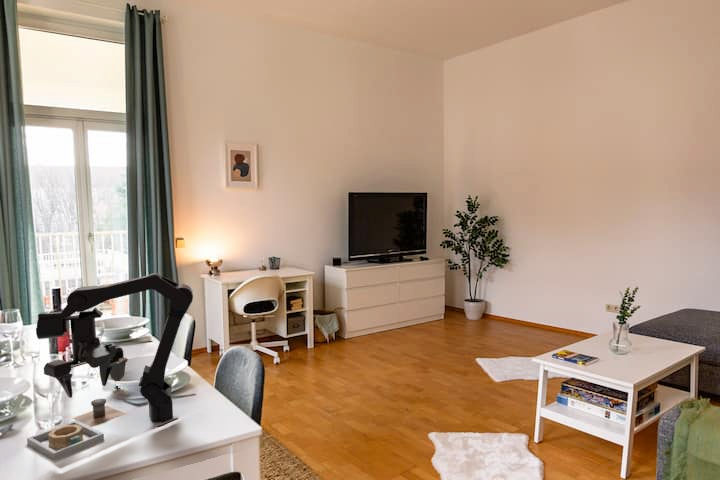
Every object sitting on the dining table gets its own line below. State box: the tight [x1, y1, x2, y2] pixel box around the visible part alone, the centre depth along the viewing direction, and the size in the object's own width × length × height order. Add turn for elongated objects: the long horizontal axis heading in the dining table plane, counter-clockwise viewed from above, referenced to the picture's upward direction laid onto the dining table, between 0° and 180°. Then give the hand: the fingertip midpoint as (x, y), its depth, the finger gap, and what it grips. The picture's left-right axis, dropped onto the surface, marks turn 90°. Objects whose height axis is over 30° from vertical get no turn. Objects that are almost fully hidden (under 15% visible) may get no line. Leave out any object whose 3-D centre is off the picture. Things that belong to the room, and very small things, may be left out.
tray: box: [26, 420, 105, 461], centre depth 127 cm, size 14×12×2 cm
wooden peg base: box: [72, 398, 127, 428], centre depth 143 cm, size 10×10×5 cm
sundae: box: [109, 356, 129, 390], centre depth 163 cm, size 7×7×15 cm
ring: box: [47, 424, 84, 450], centre depth 127 cm, size 7×9×3 cm
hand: (87, 391), depth 135 cm, fingers open, 9 cm apart
